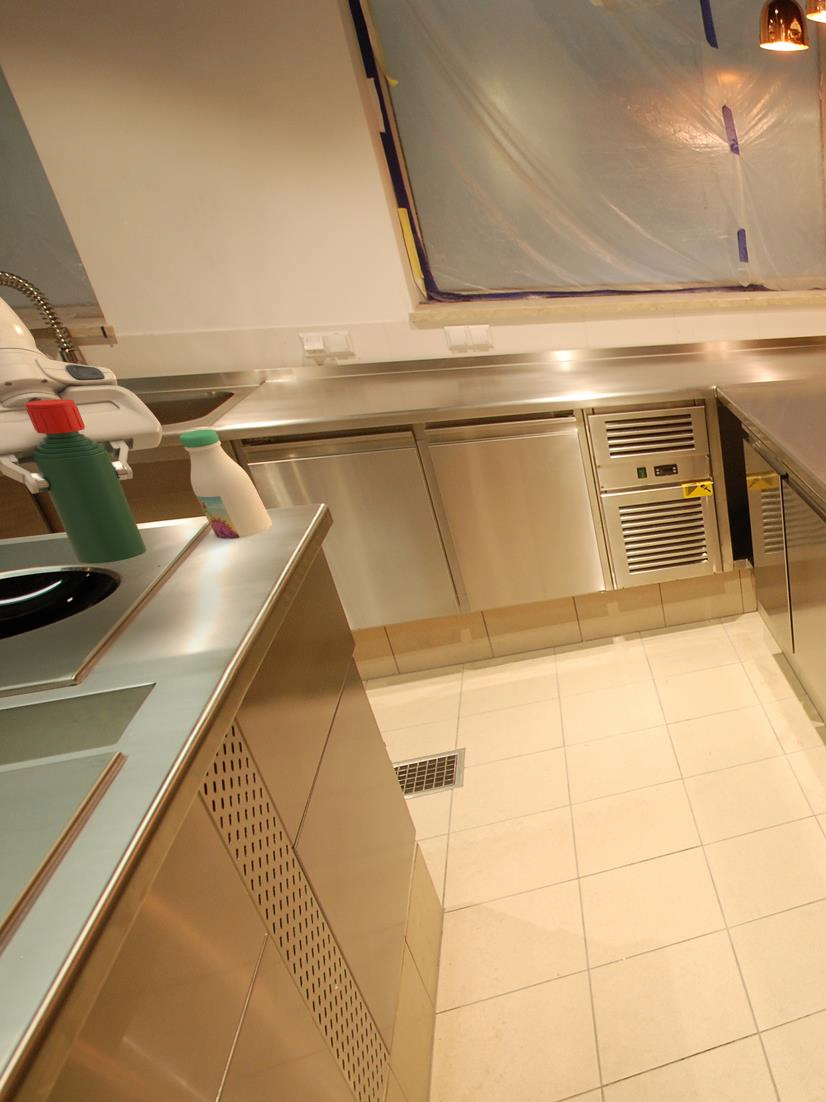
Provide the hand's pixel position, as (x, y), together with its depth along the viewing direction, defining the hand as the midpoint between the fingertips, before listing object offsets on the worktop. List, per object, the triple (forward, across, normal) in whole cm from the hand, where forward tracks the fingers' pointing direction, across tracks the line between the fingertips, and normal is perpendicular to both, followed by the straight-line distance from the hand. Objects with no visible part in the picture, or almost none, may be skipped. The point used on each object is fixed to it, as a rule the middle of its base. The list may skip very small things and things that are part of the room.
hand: (85, 483), depth 102 cm
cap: (-5, 0, -4) cm, 6 cm away
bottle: (+6, 0, +7) cm, 9 cm away
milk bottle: (-5, +24, +35) cm, 43 cm away
